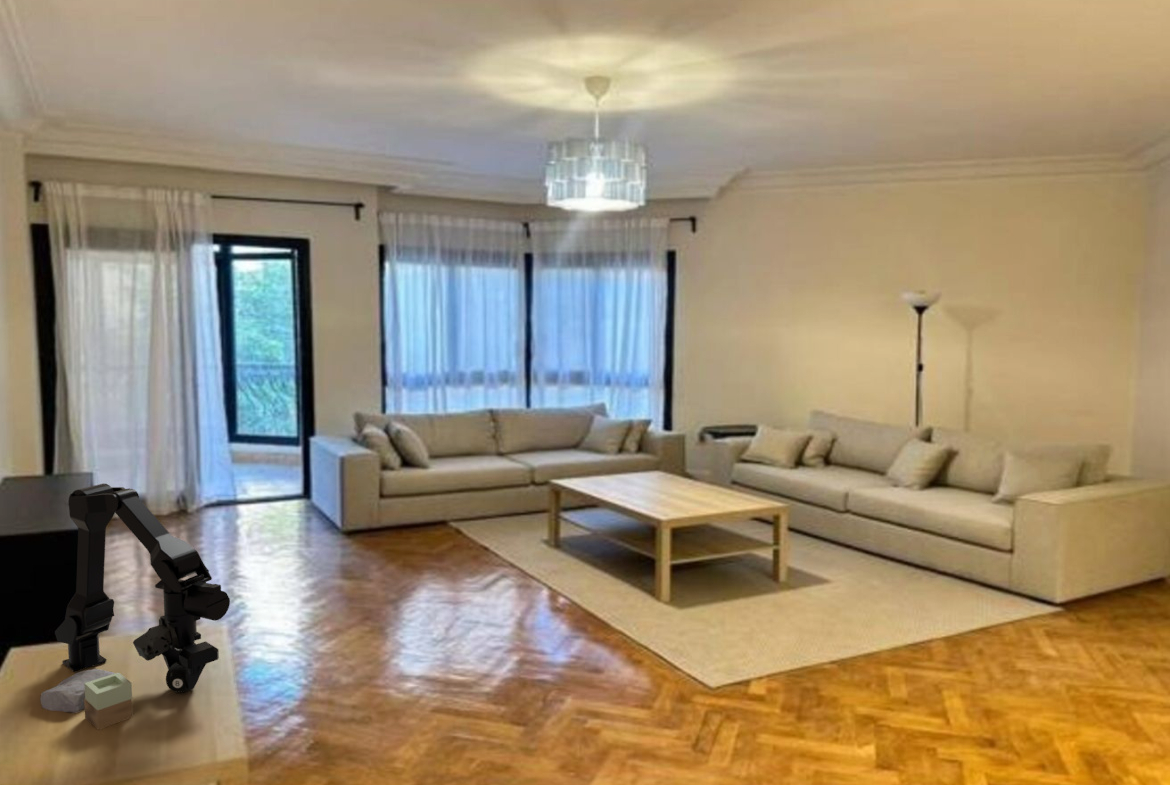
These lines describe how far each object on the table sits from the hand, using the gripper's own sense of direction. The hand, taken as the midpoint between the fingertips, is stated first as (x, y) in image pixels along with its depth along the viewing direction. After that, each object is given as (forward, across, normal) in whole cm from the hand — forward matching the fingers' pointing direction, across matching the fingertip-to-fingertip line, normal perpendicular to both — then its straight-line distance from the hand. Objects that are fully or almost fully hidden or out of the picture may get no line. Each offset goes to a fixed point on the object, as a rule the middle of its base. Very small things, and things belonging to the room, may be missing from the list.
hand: (182, 684), depth 167 cm
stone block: (+2, -13, -14) cm, 19 cm away
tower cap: (-2, 0, -14) cm, 14 cm away
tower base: (+2, 0, -14) cm, 14 cm away
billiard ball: (+2, 0, 0) cm, 2 cm away
